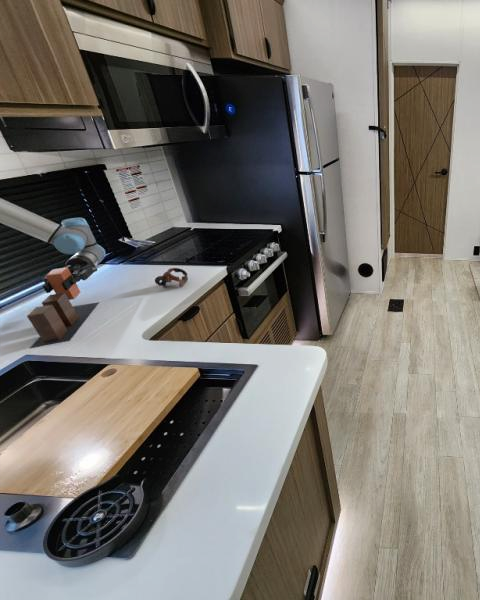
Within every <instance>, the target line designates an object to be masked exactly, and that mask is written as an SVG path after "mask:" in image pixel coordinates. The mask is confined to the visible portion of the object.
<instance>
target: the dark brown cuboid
mask: <svg viewBox="0 0 480 600" xmlns="http://www.w3.org/2000/svg"><path fill="white" fill-rule="evenodd" d="M26 317H27V319H28V321H29V322H30V323H31V325H32V327H33V328H34V329H35V331H36V332H37V334H38V336H39V337H41V339H42V340H43V342H44V343H45V342H51V341H56V340H60V339H61V338H62V337H63V335H64V334H65V333H66V332H67V331H68V330H67V328H66V327H65V325H64V323H63V322H62V320H61V318H60V317H59V315H58V313H57V312H56V310H55V308H54V307H53V305H47V306H43V305H42V306H36V307H35V308H34V309H32V311H30V313H28V314H27V315H26Z"/></svg>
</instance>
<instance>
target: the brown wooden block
mask: <svg viewBox="0 0 480 600" xmlns="http://www.w3.org/2000/svg"><path fill="white" fill-rule="evenodd" d="M41 304H42V306H47V305H53V307H54V308H55V310H56V312H57V313H58V315H59V317H60V318H61V320H62V322H63V323H64V325H65V327H67V326H72V325H73V324H74V322H75V321H76V320H77V319H78V318H79V317H78V315H77V313H76V312H75V310H74V308H73V306H74V305H73V304H72V303H71V300H69V299H68V298H67V296H66V294H65V293H60V294H56V293H53V294H50V295H48V296H47V297H46V298H45V299H43V301H42V302H41Z"/></svg>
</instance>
